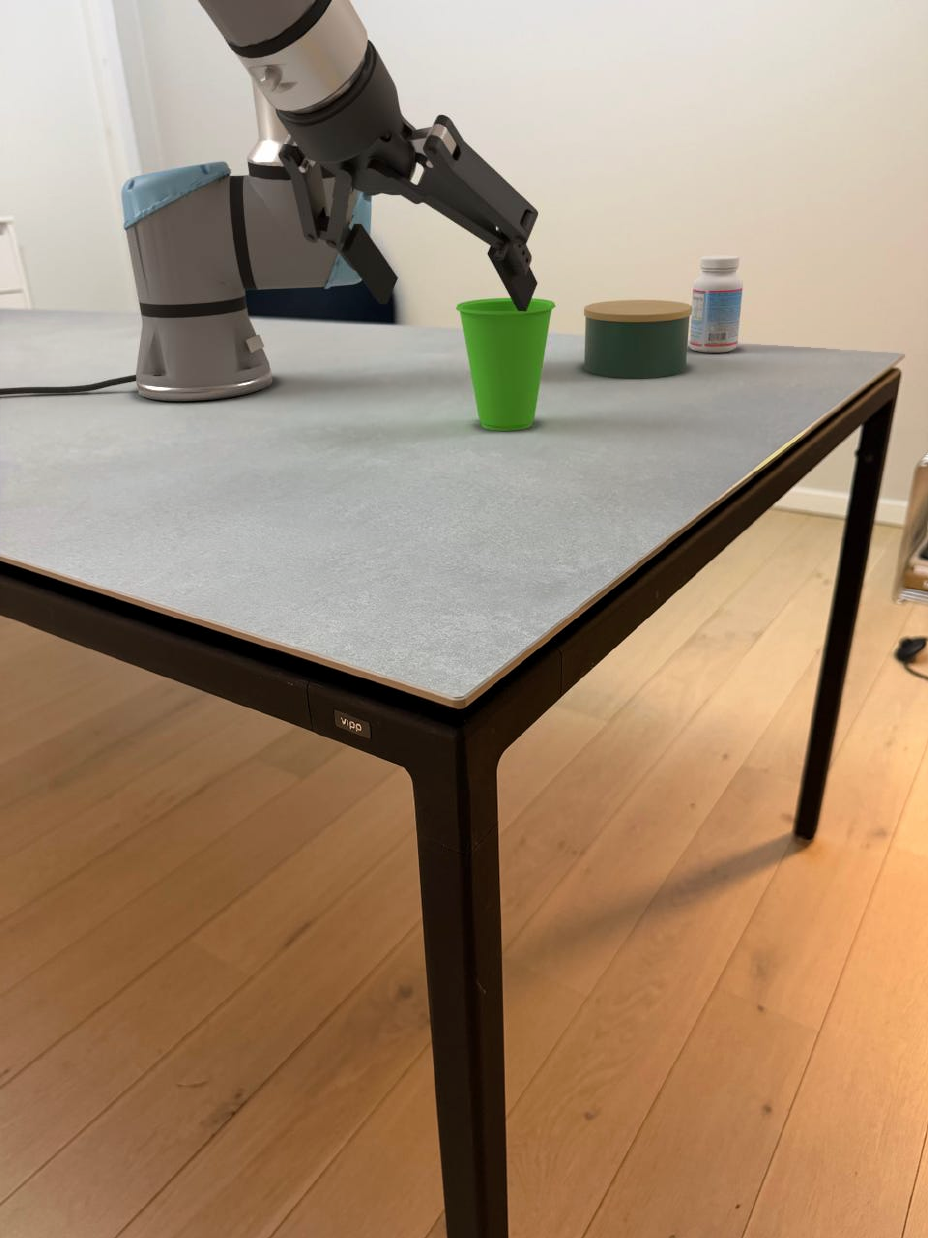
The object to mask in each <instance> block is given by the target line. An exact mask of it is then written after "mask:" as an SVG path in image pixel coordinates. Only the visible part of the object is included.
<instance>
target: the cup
mask: <svg viewBox="0 0 928 1238" xmlns="http://www.w3.org/2000/svg"><path fill="white" fill-rule="evenodd" d="M556 307H557V306H556V304H555V301H552V300H549V299H544V298H534V297H532V299H531V301H530V303H529V306H528V308H527V311H518V310H517V308H516V307H515V305H514V303H513V301H512V299H511V297H495V298H493V297H492V298H483V299H474V300H468V301H463V302H460V303H458V304H456V307H455V310H457V311H458V312H459V313H460V319H461V325H462V330H463V331H462V332H463V337H464V340H465V341H464V342H465V348H466V354H467V360H468V364H469V370H470V375H471V382H472V386H473V387H472V388H473V393H474V399H475V403H476V405H475V406H476V409H477V415H478V420H479V422H480V423H481V427H482V428H484V429H486V430H491V431H499V432H500V431H501V432H504V431H505V432H508V431H511V432H512V431H520V430H524V429H528V428H530V427H531V426H532V425H533V422H534V420H535V417H536V411H537V404H538V399H539V391H540V385H541V378H542V373H543V367H544V361H545V353H546V348H547V341H548V335H549V329H550V328H549V327H550V323H551V315H552V311H553V309H555V308H556Z"/></svg>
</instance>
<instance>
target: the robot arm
mask: <svg viewBox="0 0 928 1238" xmlns="http://www.w3.org/2000/svg"><path fill="white" fill-rule="evenodd" d="M197 1H198V3H199V4H200V6H201V7H202V9H203V10H204V12H205V13H206V14H207V16H208V18H209V19H210V20H211V21H212V23H213V24H214V26H215V27H216V29H217V30H218V31H219V33H220V34H221V36H222V37H223V39H224V40H225V42H226V44H227V45H228V47H229V48H230V49H231V51H232V52H233V53H234V55H235V56H236V57H237V59H238V61H240V63H241V65H242V66H243V68H244V69H245V70H246V72H247V74H248V75H249V77H250V78H251V86H252V94H253V101H254V102H253V103H254V109H255V110H254V111H255V117H256V125H257V132H258V133H257V134H258V139H257V142H256V143H255V144H254V146H253V148H252V149H251V150H250V152H248V155H247V156H246V163H247V169H248V174H246V175H231V174H232V169H231V168H230V167H229V164H228V163H227V162H226V161H224V160H223V161H221V160H219V161H212V162H206V163H201V164H194V165H188V166H181V167H176V168H170V169H165V170H160V171H154V172H149V173H145V174H140V175H136V176H133V177H130V178H129V179H127V180H126V181H125V182H124V184H123V185H122V188H121V191H120V193H121V205H122V213H123V214H122V215H123V219H124V220H123V221H124V223H123V230H124V231H125V233H126V239H127V245H128V250H129V255H130V260H131V267H132V271H133V277H134V283H135V288H136V293H137V297H138V298H137V299H138V302H139V310H140V315H141V321H142V323H141V324H142V325H141V333H140V339H139V340H140V341H139V349H138V355H137V361H136V371H135V374H132V375H131V374H130V375H127V376H122V377H117V378H112V379H106V380H102V381H99V382H95V383H91V384H89V383H88V384H83V385H82V384H81V385H71V386H20V387H4V388H3V387H1V388H0V396H5V395H6V396H7V395H25V394H26V395H28V394H29V395H30V394H74V393H85V392H93V391H97V390H101V389H105V388H109V387H113V386H119V385H123V384H124V385H125V384H129V383H133V382H135V383H136V387H137V392H138V395H140V396H142V397H143V398H147V399H151V400H157V401H169V402H194V401H195V402H196V401H206V400H207V401H208V400H218V399H219V400H220V399H226V398H231V397H238V396H242V395H247V394H251V393H255V392H258V391H260V390H263V389H266V388H267V387H269V386H270V385H271V384H272V383H273V376H272V375H273V374H272V369H271V365H270V361H269V360H268V357H267V355H266V352H265V350H264V348H265V344H264V342H263V340H262V337H261V335H260V334H257V333H256V331H255V328H254V326H253V323H252V321H251V319H250V316H249V311H248V307H247V306H248V305H247V297H246V291H259V290H261V291H262V290H278V289H279V290H280V289H305V288H323V289H325V290H328V289H330V288H331V287H339V286H350V285H356V284H359V283H361V281H362V282H363V283H364V284H365V287H367V289H368V290H369V291H370V293H371V294H372V295H373V297H374V298H375V300H376V301H377V302H378V304H380V305H387V304H388V302H389V300H390V297H391V295H392V293H393V291H394V288H395V287H396V284H397V282H398V279H399V277H398V275H397V274H396V272H395V271H394V269H393V268H392V267H391V266H390V265H391V264H390V263H389V262H388V261H387V259H386V258H385V256H384V255H383V253H382V252H381V250H380V248H379V247H378V246H377V245H376V243H375V241H374V240H373V238H372V237H371V233H372V213H373V212H372V210H373V209H372V208H373V205H372V202H373V196H378V195H380V194H381V195H382V194H384V195H389V196H401V197H403V198H405V199H406V200H407V201H409V202H410V203H412V204H414V205H420V204H424V205H425V204H426V205H427V206H428V207H430V208H431V209H433V210H434V211H436V212H437V213H439V214H441V215H442V216H444V217H445V218H447V219H449V220H450V221H451V222H453V223H454V224H456V225H458V226H459V227H461V228H463V229H464V230H465V231H467V232H469V233H470V234H472V235H473V236H475V237H476V238H478V239H480V240H481V241H483V242H484V243H485V244H486V245H489V249H488V250H487V254H486V255H487V256H488V258H489V260H490V262H491V264H492V266H493V268H494V269H495V271H496V273H497V275H498V277H499V279H500V281H501V282H502V284H503V287H504V289H505V290H506V292H507V294H508V295H509V298H511V299H512V301H513V303H514V305H515V307H516V308H517V310H518V311H527V308H528V306H529V303H530V301H531V299H532V298H533V296H534V293H535V291H536V289H537V286H538V284H539V283H538V281H537V278H536V277H535V275H534V272H533V271H532V269H531V266H530V265H531V263H532V260H533V258H532V257H533V255H532V253H531V251H530V250H529V249H530V248H528V245H527V243H528V241H529V239H530V236H531V234H532V231H533V229H534V226H535V224H536V221H537V219H538V216H539V211H538V210H537V208H536V207H534V205H532V203H530V202H529V201H528V200H527V199H526V198H525V197H524V196H523V195H522V194H521V193H520V192H518V190H516V188H514V186H512V184H510V183H509V182H508V181H507V180H506V179H505V178H504V177H503V176H502V175H501V174H500V173H499V172H497V170H495V169H494V167H493V166H491V165H490V164H489V163H488V162H487V161H486V160H485V159H484V158H483V157H482V156H481V155H480V154H479V153H478V152H477V151H476V150H475V149H474V148H472V147H471V146H470V145H469V144H468V143H467V142H466V141H465V140H464V138H463V136H462V135H461V133H460V131H459V130H458V128H457V127H456V125H455V123H454V121H453V120H452V119H451V118H450V117H449V116H447V115H445V114H439V115H437V116H436V117H435V120H434V121H433V124H432V126H429V127H423V128H418V129H417V128H416V127H415V126H414V125H412V124H411V122H409V121H408V120H407V118H406V117H404V115H403V113H402V110H401V106H400V99H399V94H398V90H397V86H396V84H395V82H394V79H393V78H392V76H391V73H389V70H388V69H387V67H386V64H385V63H384V61H383V59H382V57H381V55H380V54H379V52H378V50H377V48H376V46H375V45H374V43H373V42H372V41H371V40H370V39H369V37H368V30H367V28H366V27H365V25H364V23H363V22H362V20H361V18H360V17H359V15H358V13H357V11H356V9H355V8H354V6H353V4H352V2H351V0H197ZM417 164H418V165H420V166H421V167H422V169H423V171H422V174H421V176H420V177H419V180H418V182H417V184H415V183H414V182H412V179H413V177H414V175H415V172H416V169H417Z"/></svg>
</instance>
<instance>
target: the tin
mask: <svg viewBox="0 0 928 1238" xmlns="http://www.w3.org/2000/svg"><path fill="white" fill-rule="evenodd" d="M691 315H692V304H688V303H685V302H680V301H674V300H662V299H661V300H660V299H623V300H622V299H621V300H609V301H600V302H594V303H591V304H587V305H585V306H584V307H583V316H584V317H585V321H584V323H585V324H584V329H585V330H584V355H583V356H584V358H583V359H584V360H583V368H584V370H585V371H586V372H587V373H590V374H593V375H596V376H601V377H608V378H615V379H617V378H618V379H653V378H655V379H656V378H662V377H670V376H674V375H678V374H681V373H683V372H685V371H686V369H687V368H686V367H687V359H688V358H687V357H688V344H689V332H690V331H689V330H690V329H689V328H690V318H691V317H690V316H691Z"/></svg>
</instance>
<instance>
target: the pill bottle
mask: <svg viewBox="0 0 928 1238" xmlns="http://www.w3.org/2000/svg"><path fill="white" fill-rule="evenodd" d="M699 267H700V271H701V275H699V276H698V277H696V279H695V280H694V282H693V286H692V287H693V289H692V302H691V306H692V314H691V315H690V316H691V317H690V318H691V319H690V331H689V332H690V336H689V348H690V350H692V351H694V352H698V353H708V354H709V353H710V354H714V353H716V354H719V353H728V352H731V351H734V350H736V349H737V348H738V343H739V335H740V334H739V333H740V321H741V320H740V319H741V309H742V298H743V288H744V287H743V286H744V282H743V280H742V278H741V277H740V276H739V275H737V270H739V267H740V256H738V255H730V254H719V255H716V254H715V255H706V256H705V255H704V256H701V258H700V265H699Z"/></svg>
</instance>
